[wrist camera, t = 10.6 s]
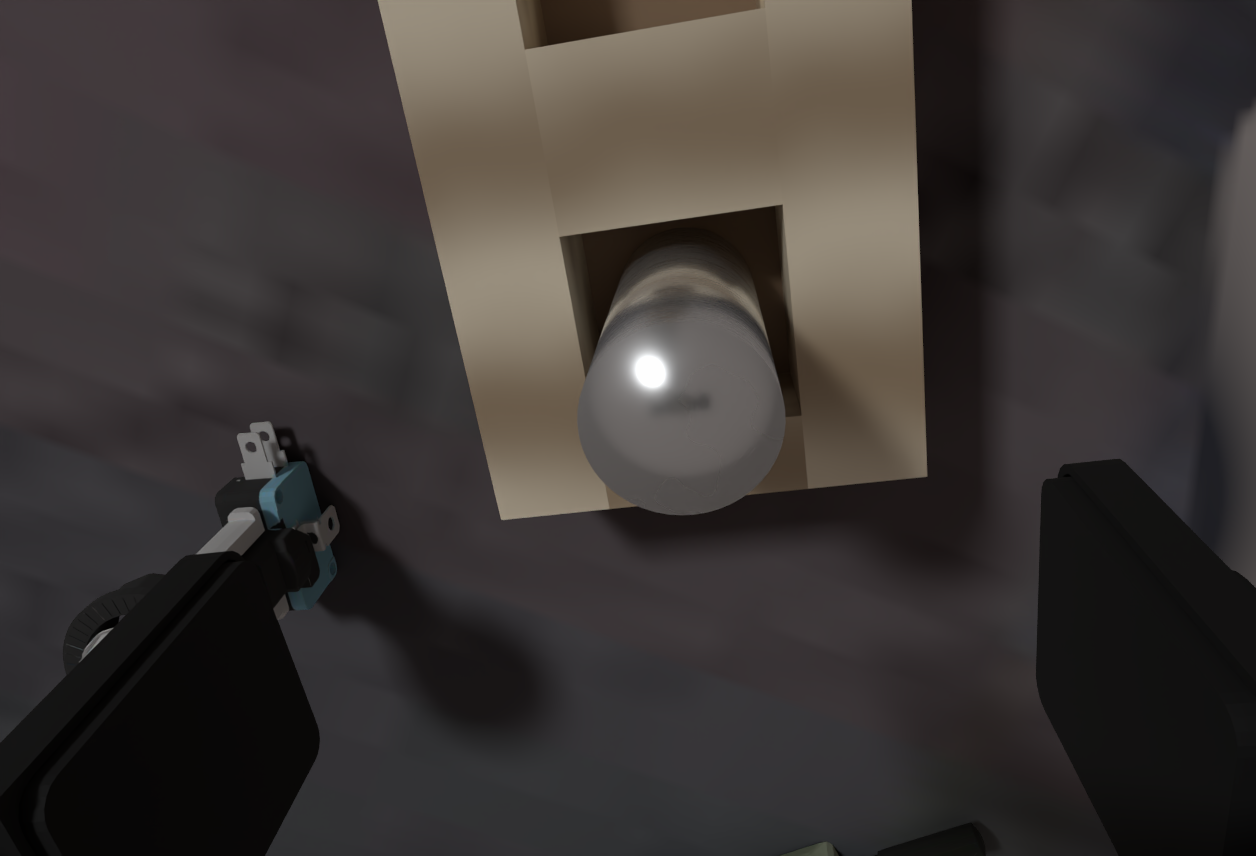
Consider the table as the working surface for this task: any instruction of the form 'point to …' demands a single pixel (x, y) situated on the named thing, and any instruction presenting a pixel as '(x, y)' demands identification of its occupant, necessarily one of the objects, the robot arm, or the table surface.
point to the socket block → (672, 209)
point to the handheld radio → (919, 845)
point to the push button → (244, 542)
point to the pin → (683, 380)
